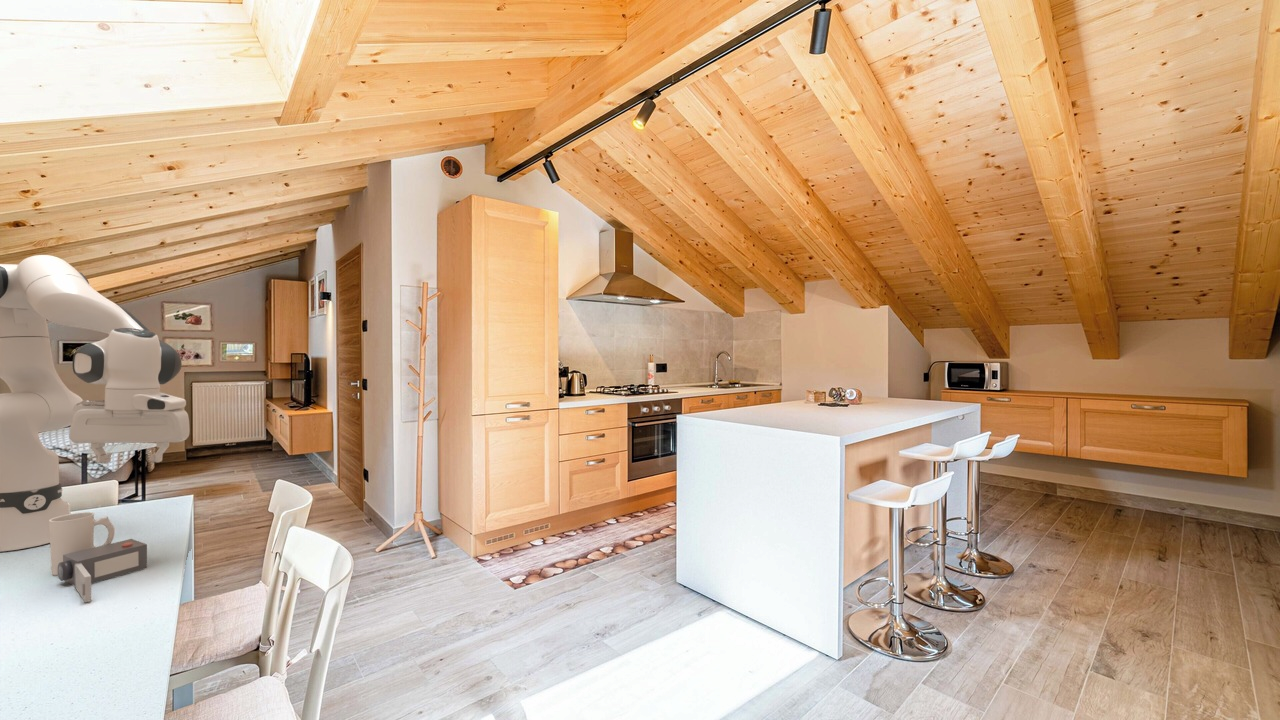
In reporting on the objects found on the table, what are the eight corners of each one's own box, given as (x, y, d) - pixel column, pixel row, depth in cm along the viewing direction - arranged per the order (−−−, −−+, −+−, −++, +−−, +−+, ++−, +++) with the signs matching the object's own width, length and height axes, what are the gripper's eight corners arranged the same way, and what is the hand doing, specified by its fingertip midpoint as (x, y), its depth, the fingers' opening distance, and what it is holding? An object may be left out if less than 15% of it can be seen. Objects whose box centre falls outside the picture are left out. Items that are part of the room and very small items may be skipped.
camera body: (54, 582, 109) (53, 554, 109) (131, 561, 120) (131, 536, 120) (68, 590, 106) (68, 560, 106) (147, 568, 117) (147, 541, 116)
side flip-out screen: (81, 585, 107) (81, 562, 107) (92, 600, 100) (91, 575, 100) (72, 587, 106) (72, 564, 106) (83, 602, 99) (82, 578, 99)
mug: (46, 579, 111) (45, 523, 111) (53, 569, 116) (52, 516, 116) (112, 566, 117) (112, 514, 117) (116, 558, 123) (116, 507, 123)
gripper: (62, 401, 109) (59, 466, 109) (179, 402, 115) (176, 464, 115) (84, 398, 115) (81, 460, 116) (194, 400, 121) (192, 458, 122)
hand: (130, 462), depth 116 cm, fingers open, 8 cm apart
